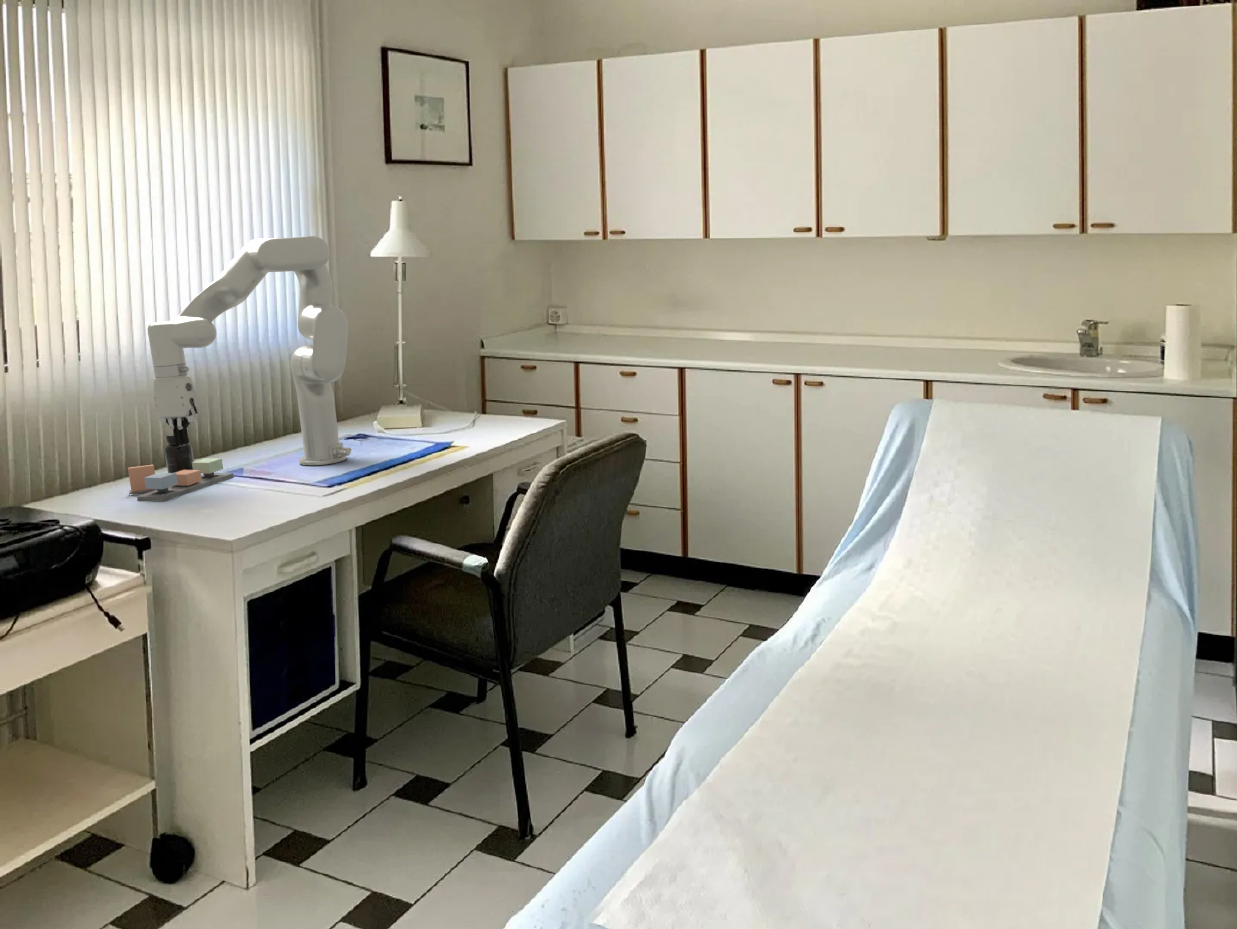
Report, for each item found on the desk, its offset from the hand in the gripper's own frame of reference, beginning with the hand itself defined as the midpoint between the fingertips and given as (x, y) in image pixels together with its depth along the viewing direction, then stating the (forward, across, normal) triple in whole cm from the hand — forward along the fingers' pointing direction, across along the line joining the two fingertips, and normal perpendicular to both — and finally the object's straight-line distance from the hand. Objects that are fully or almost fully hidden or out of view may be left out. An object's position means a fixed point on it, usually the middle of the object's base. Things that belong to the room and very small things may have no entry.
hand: (182, 444), depth 293 cm
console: (+11, 0, 0) cm, 11 cm away
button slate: (+10, 0, +9) cm, 13 cm away
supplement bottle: (+12, +10, -10) cm, 18 cm away
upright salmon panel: (+11, +9, +6) cm, 15 cm away
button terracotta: (+11, 0, 0) cm, 11 cm away
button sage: (+10, 0, -8) cm, 13 cm away
